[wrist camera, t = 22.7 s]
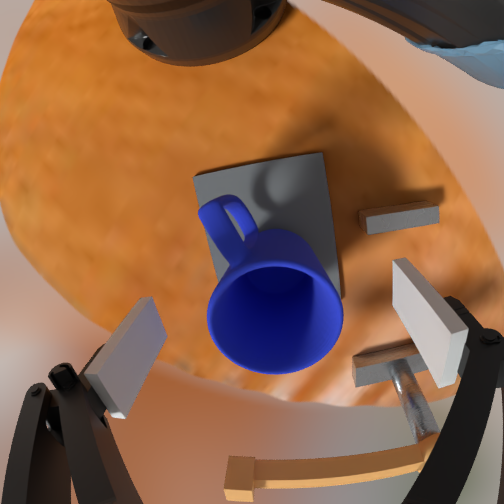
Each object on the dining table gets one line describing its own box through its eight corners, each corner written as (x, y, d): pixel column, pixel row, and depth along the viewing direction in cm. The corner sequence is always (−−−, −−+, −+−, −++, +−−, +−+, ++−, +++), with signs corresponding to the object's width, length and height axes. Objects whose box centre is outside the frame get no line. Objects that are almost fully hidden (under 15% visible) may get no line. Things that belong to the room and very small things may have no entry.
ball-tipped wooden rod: (232, 472, 20) (227, 502, 17) (228, 452, 19) (222, 485, 16) (440, 450, 19) (449, 476, 16) (455, 427, 17) (467, 454, 14)
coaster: (194, 176, 25) (192, 177, 25) (321, 152, 24) (322, 152, 23) (229, 317, 30) (228, 320, 29) (340, 300, 28) (341, 303, 28)
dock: (342, 213, 26) (392, 268, 14) (439, 199, 24) (525, 238, 12) (352, 375, 32) (374, 463, 20) (429, 357, 30) (470, 431, 18)
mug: (272, 159, 24) (270, 167, 15) (336, 279, 27) (362, 344, 18) (188, 208, 26) (142, 244, 16) (258, 316, 29) (250, 390, 19)
